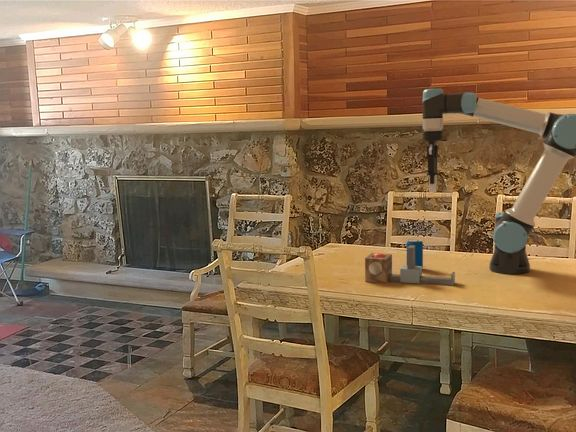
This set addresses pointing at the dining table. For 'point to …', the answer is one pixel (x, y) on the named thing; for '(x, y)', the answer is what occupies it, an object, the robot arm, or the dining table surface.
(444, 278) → the rail
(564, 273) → the dining table surface
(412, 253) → the carriage
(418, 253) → the beverage can
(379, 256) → the gauge button
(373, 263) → the brown button box
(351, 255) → the dining table surface
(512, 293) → the dining table surface
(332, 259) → the dining table surface
